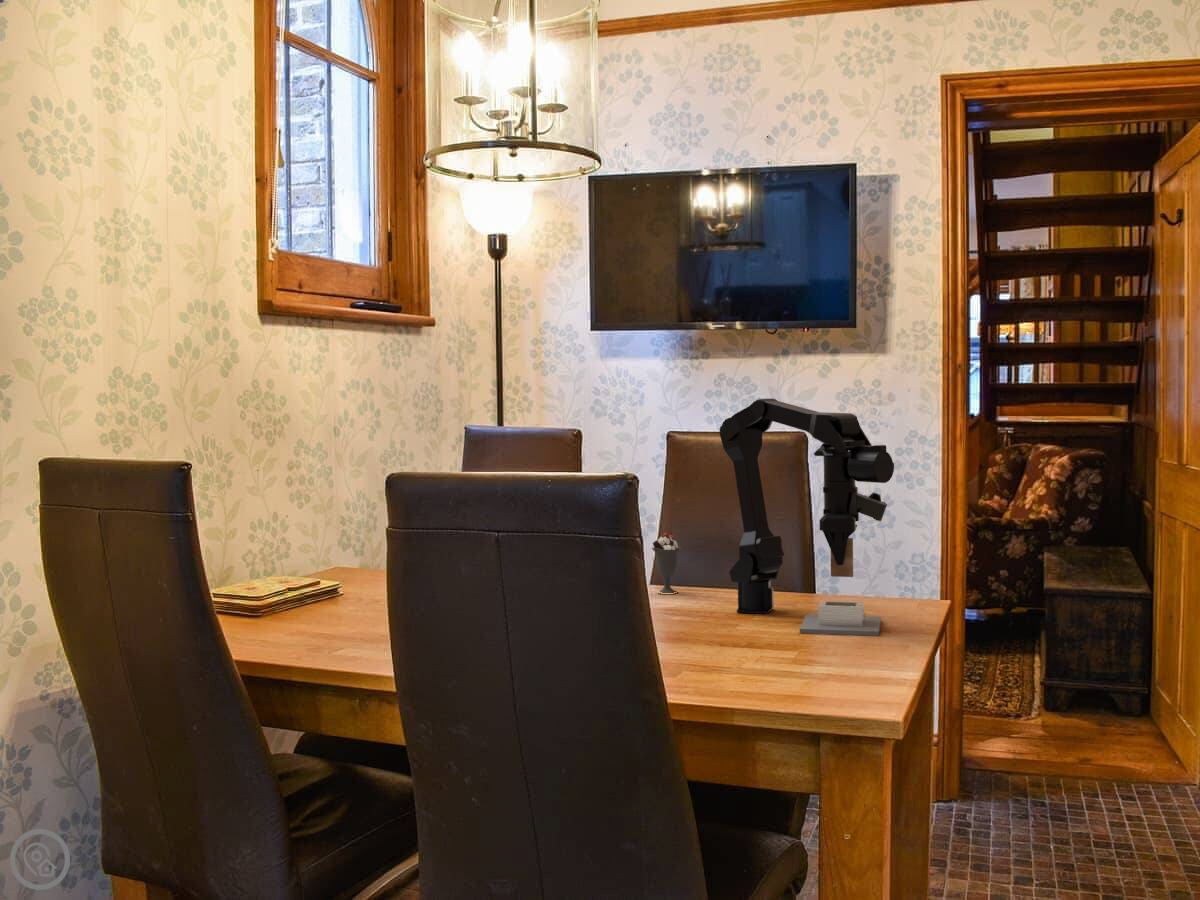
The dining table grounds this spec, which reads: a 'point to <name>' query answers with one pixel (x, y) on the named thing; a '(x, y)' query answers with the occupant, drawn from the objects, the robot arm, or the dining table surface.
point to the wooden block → (847, 567)
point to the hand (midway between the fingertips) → (840, 564)
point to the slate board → (841, 627)
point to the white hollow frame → (841, 613)
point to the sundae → (666, 558)
